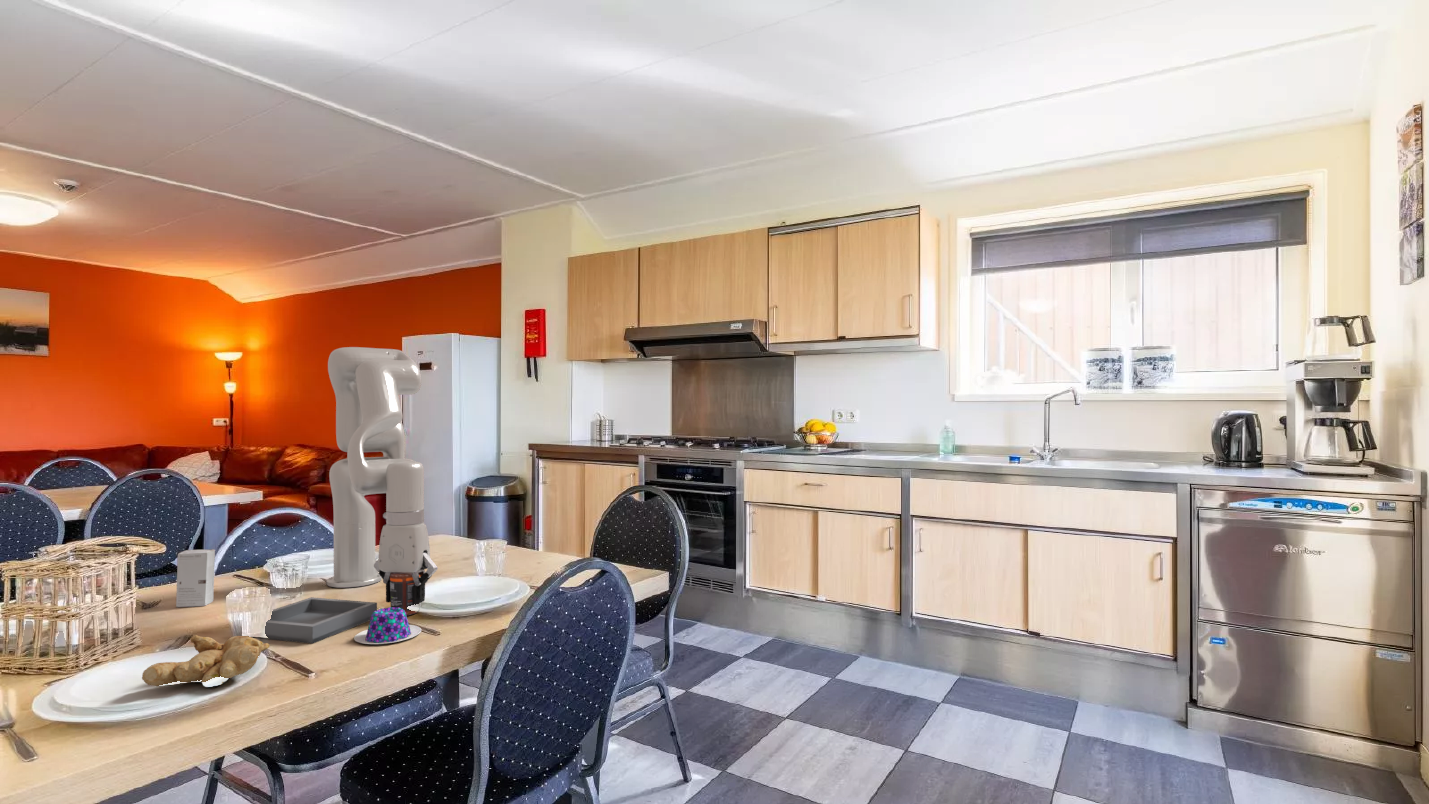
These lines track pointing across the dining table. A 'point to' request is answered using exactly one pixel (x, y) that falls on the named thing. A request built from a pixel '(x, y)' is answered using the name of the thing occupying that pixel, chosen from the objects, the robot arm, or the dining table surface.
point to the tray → (317, 619)
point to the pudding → (387, 627)
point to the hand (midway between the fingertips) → (405, 601)
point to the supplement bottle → (401, 591)
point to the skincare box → (195, 578)
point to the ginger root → (209, 661)
